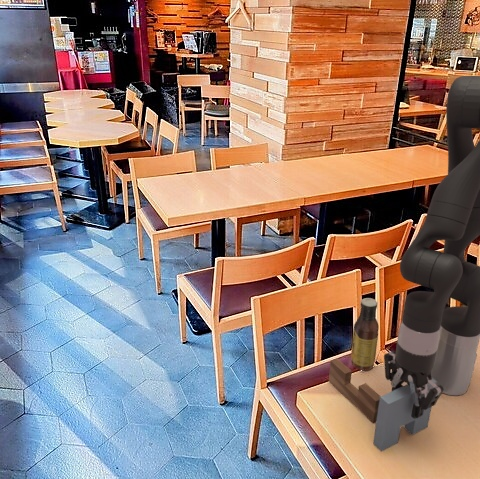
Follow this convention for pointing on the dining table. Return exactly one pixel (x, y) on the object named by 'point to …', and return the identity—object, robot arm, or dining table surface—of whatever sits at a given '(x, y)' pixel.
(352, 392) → the walnut board
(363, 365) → the sauce bottle
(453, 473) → the dining table surface
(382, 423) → the grey block
